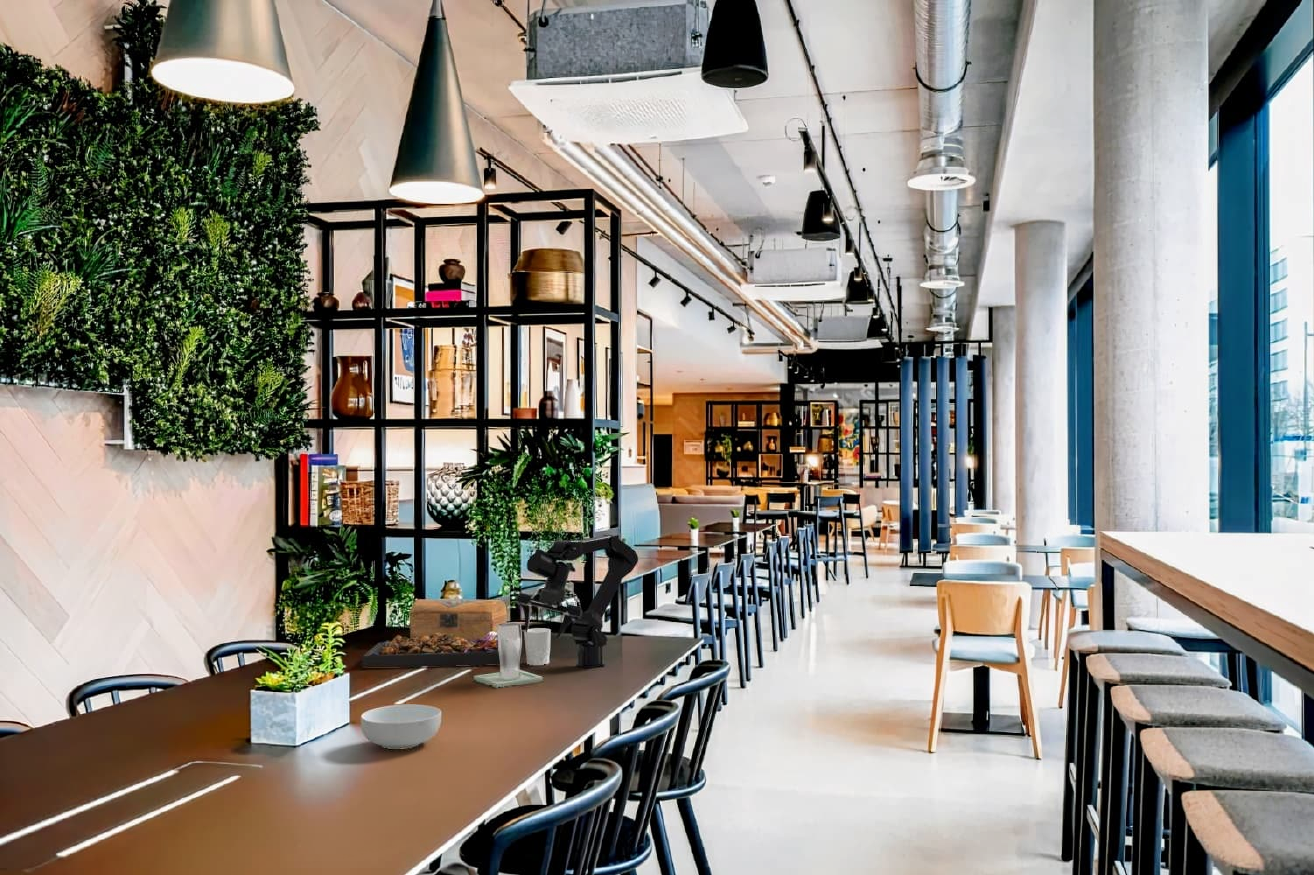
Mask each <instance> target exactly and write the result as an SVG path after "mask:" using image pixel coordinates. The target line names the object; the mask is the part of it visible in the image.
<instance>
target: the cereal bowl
mask: <svg viewBox="0 0 1314 875" xmlns="http://www.w3.org/2000/svg"><path fill="white" fill-rule="evenodd" d="M441 722H442V711H441V709H440V708H438V707H435V706H431V705H426V704H412V703H411V704H406V703H405V704H394V705H393V704H391V705H385V706H380V707H377V708H372V709H369V710H366V711H365V712H363V713H362V714H361V716H360V727H361V732H362V734H363V735H364V736H363V737H365V738H366V739H367V740H368V741H369V742H371V743H373V744H376V745H379V746H382V748H383V749H385V748H390V749H401V748H411V749H413V748H412V747H415V746H417V747H419V746H420V745H421V744H423V743H425V742H426V741H429V740H430V739H432V738H433V737H434V736H435V735H436V734H437V733H438V731H439V730H440V727H441ZM420 743H421V744H420ZM419 744H420V745H419ZM418 745H419V746H418ZM415 748H416V747H415Z"/></svg>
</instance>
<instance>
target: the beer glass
mask: <svg viewBox="0 0 1314 875" xmlns="http://www.w3.org/2000/svg"><path fill="white" fill-rule="evenodd" d="M522 645H523V633H522V623H520V622H507V623H500V624H498V625H497V649H498V654H499V660H500V665H499V672H500V673H499V679H500V680H517V679H520V678H521V674H520V670H521V667H520V659H521V653H522V647H523V646H522Z"/></svg>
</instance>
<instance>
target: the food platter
mask: <svg viewBox="0 0 1314 875" xmlns="http://www.w3.org/2000/svg"><path fill="white" fill-rule="evenodd" d="M452 636H453V635H450V633H449V634H448V633H445V634H441V633H438V632H435V633H432V634H431V635H430V636H426V635H425V636H423V637H422V638H421V637H416V636H412V638H408V637H405V636H403V637H402V636H401V635H396V636H395V637H394V638H393V639H392V640H388V639H387V640H386V641H381V642H377V644H375V645H374V646H373V647H372V648H371V649H370V650H368V651H367V652H366V653H365V654H364V655H362V657H361V666H362V667H421V666H456V665H487V664H500V660H499V654H498V649H497V632H489V633H488V634H487V636H485V637H483V638H484V639H477V640H467V639H463V638H459V637H454V638H453V637H452ZM485 651H486V652H485ZM362 667H361V668H362Z"/></svg>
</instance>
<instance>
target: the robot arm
mask: <svg viewBox="0 0 1314 875" xmlns="http://www.w3.org/2000/svg"><path fill="white" fill-rule="evenodd" d="M603 550H604V554H605V556H606V557H607V558H608V560H607V572H606V574H605V576H604V578H603V580H602V581H601V583H600V585H599V588H598V589H597V591H596V593H595V595H594V597H593V599H592V600H591V602H590V605H589V607H588V608H587V610H585V611H584V612H583V609H582V608H581V606H578V605H573V604H568V605H567V606H565V605H561V604H562V603H564V602H565V600H566V596H567V590H566V585H567V581H568V578H569V574H570V572H571V573H575V572H576V568H575V567H574V564H573V563H572V561H575V560H578V559H579V558H581V557H582V556H583V555H585V554H588V553H589V554H590V553H593V552H599V551H603ZM564 561H565V562H564ZM566 561H569V562H566ZM638 562H639V556H638V553H637V551H636V550H635V549H633V548H632V547H631V546H630V545H628V544H627V543H625V542H623V541H622V540H621V539H620V538H619V537H618V535H615V534H603V535H600V536H596V537H590V538H584V539H580V540H579V539H578V540H563V539H561V540H560V539H557V540H555V541H554V542H553V544H552V546H551V547H550V548H548V549H547V551H544V550H542V549H539V548H538V549H535V552H534V553H533V554H531V556H530V557H529V558H528V559H527V562H526V568H527V571H528V572H530V573H533V574H535V575H536V576H540V577H542V578H544V579H546V581H545V584H544V587H543V588H542V589H541V590H540V595H539V599H536V598H534V596H533V595H531V594H526V593H523V592H520V593H518V595H517V596H516V601H515V603H516V604H517V605H518V606H520V608H521V610H523V613H524V615H523V616H524V631H525V632H527V631H528V629H530V628H529V627H530V620H531V618H532V612H533V611H532V610H533V609H532V606H534V607H537V608H543V609H545V610H546V609H547V610H551V611H554V612H560V613H563V614H564V616H563V620H562V622H561V625H560V628H559V630H558V633H557V637H556V640H557V641H559V639H560V638H561V637H562V635H563V634H564V632H565V631H566V629H567V628H568V627H569V625H571V624H572V626H571V627H570V628H571V629H570V630H571V635H572V638H573V641H574V644H575V645H578V650H577V663H576V666H577V665H578V667H581V668H584V669H592V668H599V666H600V667H605V666H604V665H606V663H603V647H604V646H606V645H607V643H608V642H607V641H608V637H607V636H606V634H604V632H603V631H602V630H603V627H604V624H603V616H604V615H605V613H606V611H607V609H608V607H609V605H610V604H611V601H612V599H613V598H614V596H615V594H616V591H617V590H618V588H619V586H620V584H621V582H622V580H623V579H624V578H625V577H627V576H628V575H629V574H631V573H632V572H633V570H634V569H635V567H637V564H638Z"/></svg>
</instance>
